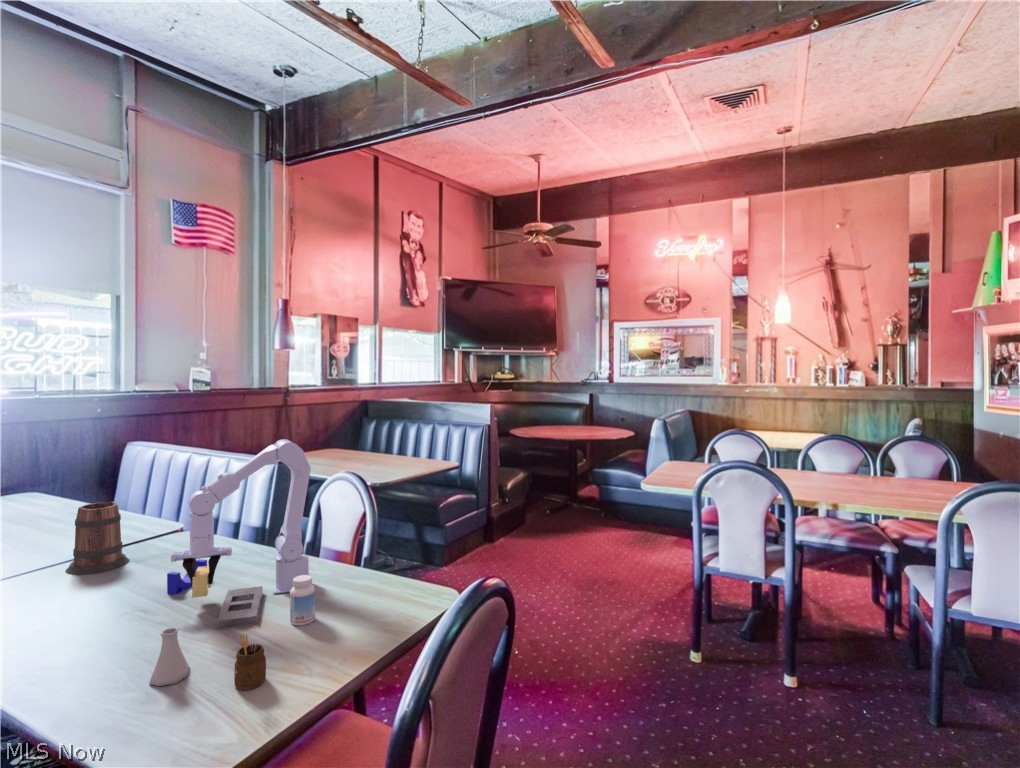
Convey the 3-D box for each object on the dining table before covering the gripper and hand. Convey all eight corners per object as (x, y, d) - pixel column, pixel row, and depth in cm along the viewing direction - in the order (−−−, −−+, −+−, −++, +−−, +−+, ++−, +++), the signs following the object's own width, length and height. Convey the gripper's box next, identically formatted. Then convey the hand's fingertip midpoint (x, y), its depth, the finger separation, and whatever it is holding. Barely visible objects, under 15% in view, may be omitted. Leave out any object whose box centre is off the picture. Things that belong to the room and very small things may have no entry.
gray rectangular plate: (262, 593, 156) (262, 586, 156) (256, 623, 137) (256, 615, 137) (227, 597, 153) (227, 590, 153) (216, 629, 134) (216, 621, 134)
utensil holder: (270, 674, 115) (270, 619, 115) (257, 692, 109) (257, 633, 108) (242, 674, 115) (242, 619, 114) (228, 692, 108) (228, 633, 108)
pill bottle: (319, 617, 141) (320, 575, 141) (303, 628, 136) (304, 584, 135) (301, 614, 143) (301, 572, 143) (284, 624, 138) (284, 580, 137)
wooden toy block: (211, 584, 152) (212, 565, 152) (206, 596, 145) (207, 575, 145) (197, 586, 151) (198, 566, 151) (192, 597, 144) (192, 577, 143)
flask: (161, 668, 117) (161, 623, 117) (196, 667, 117) (196, 622, 117) (141, 688, 110) (141, 639, 109) (178, 686, 110) (178, 638, 110)
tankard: (139, 563, 179) (139, 503, 178) (77, 579, 165) (77, 514, 164) (108, 549, 192) (108, 494, 191) (49, 563, 177) (48, 503, 177)
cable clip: (194, 578, 167) (194, 559, 167) (207, 579, 166) (206, 560, 166) (162, 593, 155) (162, 573, 155) (176, 595, 155) (176, 574, 154)
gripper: (233, 528, 154) (233, 575, 154) (174, 533, 149) (175, 582, 149) (229, 535, 147) (230, 584, 148) (168, 541, 142) (169, 592, 143)
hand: (202, 583), depth 148 cm, fingers closed on wooden toy block, 3 cm apart
